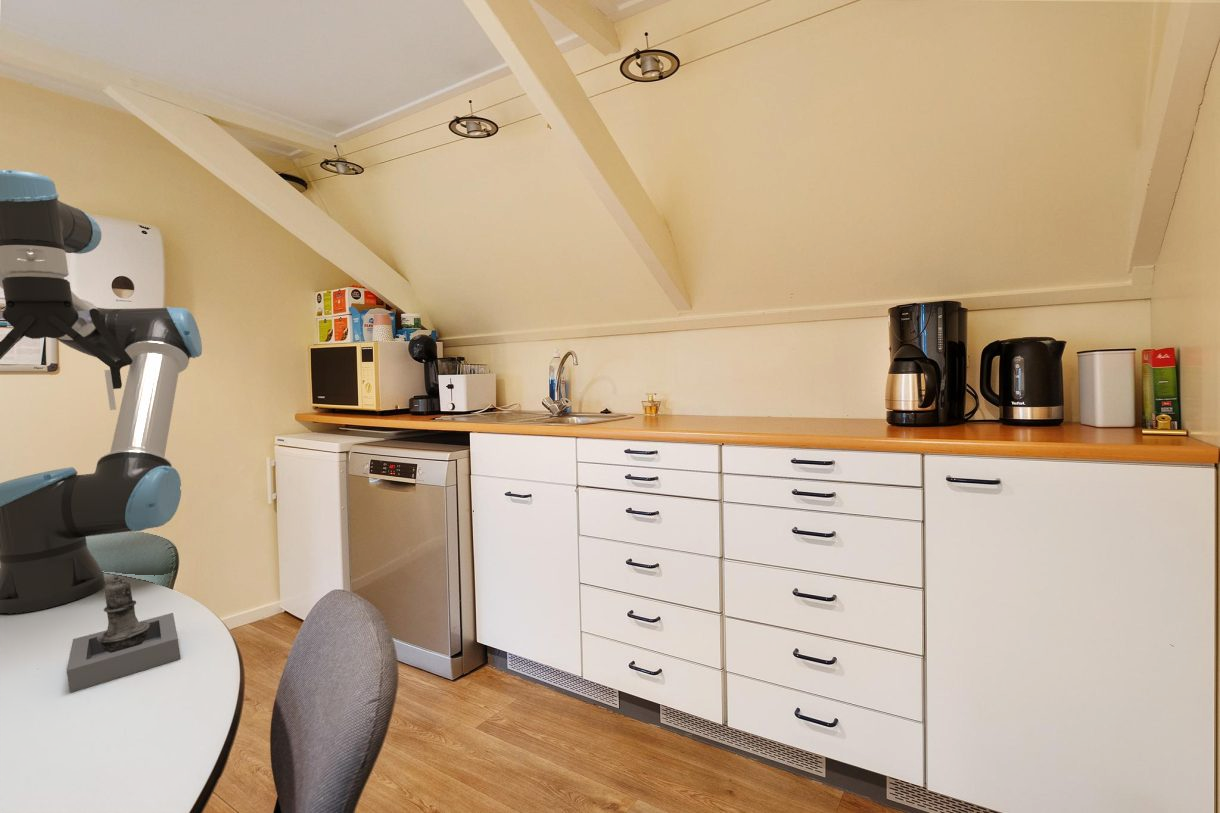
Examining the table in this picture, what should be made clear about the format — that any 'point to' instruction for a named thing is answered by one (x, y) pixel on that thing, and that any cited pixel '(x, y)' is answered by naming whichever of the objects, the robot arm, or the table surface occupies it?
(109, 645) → the dark grey tall piece
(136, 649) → the grey square tray
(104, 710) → the table surface
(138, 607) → the table surface
